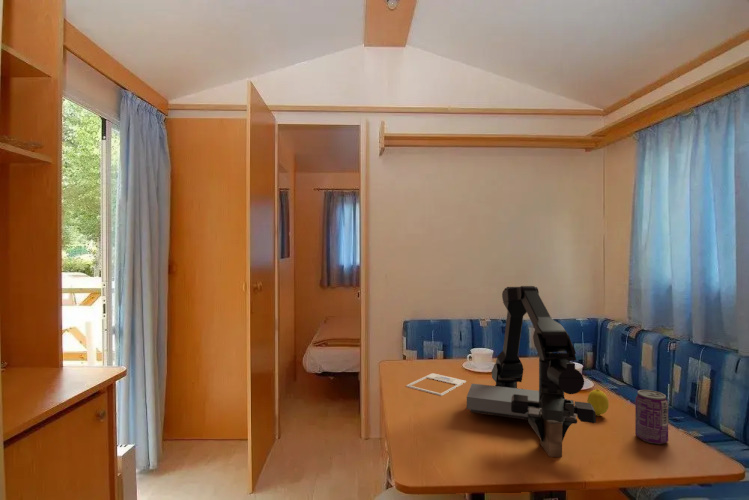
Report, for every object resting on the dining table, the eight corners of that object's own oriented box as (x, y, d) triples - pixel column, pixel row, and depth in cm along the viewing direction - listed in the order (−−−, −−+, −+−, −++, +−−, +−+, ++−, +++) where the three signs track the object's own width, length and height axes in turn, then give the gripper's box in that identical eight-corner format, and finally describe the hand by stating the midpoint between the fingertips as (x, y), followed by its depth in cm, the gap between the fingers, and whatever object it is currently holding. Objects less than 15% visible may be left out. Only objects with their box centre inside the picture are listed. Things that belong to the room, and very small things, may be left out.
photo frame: (466, 380, 151) (441, 394, 138) (466, 383, 151) (441, 397, 138) (432, 372, 161) (406, 384, 147) (432, 375, 161) (406, 387, 147)
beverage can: (662, 435, 108) (662, 390, 108) (672, 448, 101) (672, 400, 101) (632, 431, 111) (632, 387, 110) (639, 443, 104) (639, 397, 104)
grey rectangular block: (540, 416, 121) (540, 390, 121) (541, 433, 110) (541, 405, 110) (471, 407, 128) (471, 383, 128) (466, 422, 117) (466, 396, 116)
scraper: (535, 422, 116) (535, 395, 115) (561, 456, 98) (562, 424, 97) (524, 422, 116) (525, 394, 115) (549, 456, 98) (549, 423, 97)
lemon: (607, 413, 122) (607, 387, 122) (609, 421, 117) (609, 393, 117) (586, 410, 125) (586, 384, 125) (587, 417, 120) (588, 390, 120)
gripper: (510, 385, 96) (510, 451, 96) (600, 395, 89) (599, 465, 89) (511, 371, 106) (511, 431, 106) (592, 379, 100) (591, 442, 100)
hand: (551, 442), depth 100 cm, fingers closed on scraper, 4 cm apart
